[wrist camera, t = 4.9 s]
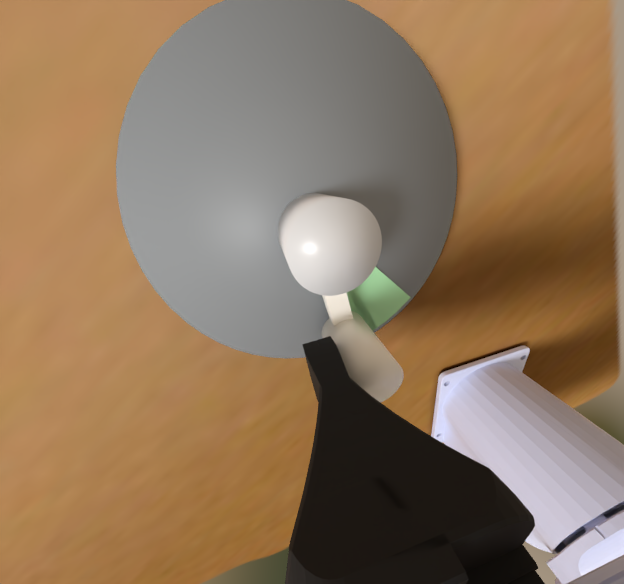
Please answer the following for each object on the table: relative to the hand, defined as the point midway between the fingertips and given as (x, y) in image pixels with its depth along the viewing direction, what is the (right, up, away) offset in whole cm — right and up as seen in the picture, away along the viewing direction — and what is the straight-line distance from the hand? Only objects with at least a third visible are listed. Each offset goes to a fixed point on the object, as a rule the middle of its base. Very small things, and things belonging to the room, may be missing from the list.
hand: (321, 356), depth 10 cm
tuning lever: (0, +3, +1) cm, 3 cm away
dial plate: (-1, +6, 0) cm, 6 cm away
